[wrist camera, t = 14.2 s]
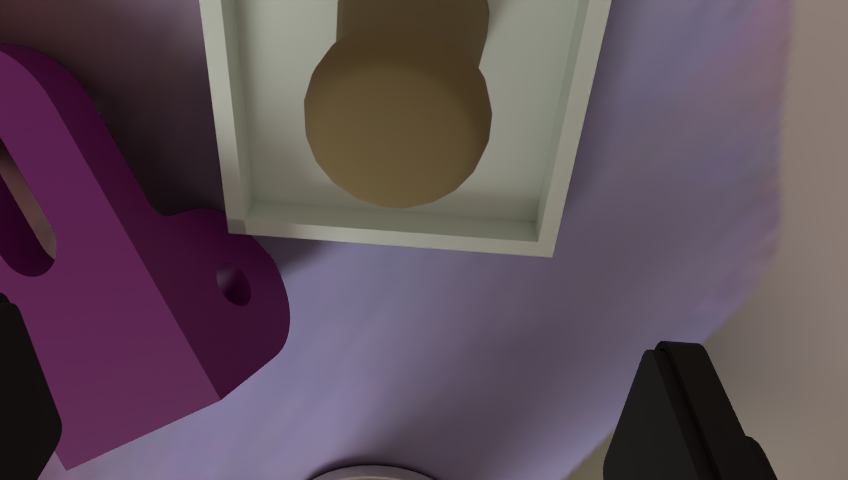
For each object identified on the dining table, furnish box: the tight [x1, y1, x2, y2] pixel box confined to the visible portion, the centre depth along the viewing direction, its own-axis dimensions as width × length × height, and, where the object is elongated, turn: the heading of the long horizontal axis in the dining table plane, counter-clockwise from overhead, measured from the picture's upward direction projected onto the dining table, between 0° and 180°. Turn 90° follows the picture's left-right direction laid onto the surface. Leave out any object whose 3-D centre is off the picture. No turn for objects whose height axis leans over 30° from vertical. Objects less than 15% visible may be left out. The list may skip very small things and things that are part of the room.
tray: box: [199, 0, 612, 258], centre depth 25 cm, size 20×15×2 cm
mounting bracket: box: [0, 44, 290, 471], centre depth 31 cm, size 10×8×18 cm
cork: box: [304, 0, 492, 208], centre depth 21 cm, size 6×6×11 cm
